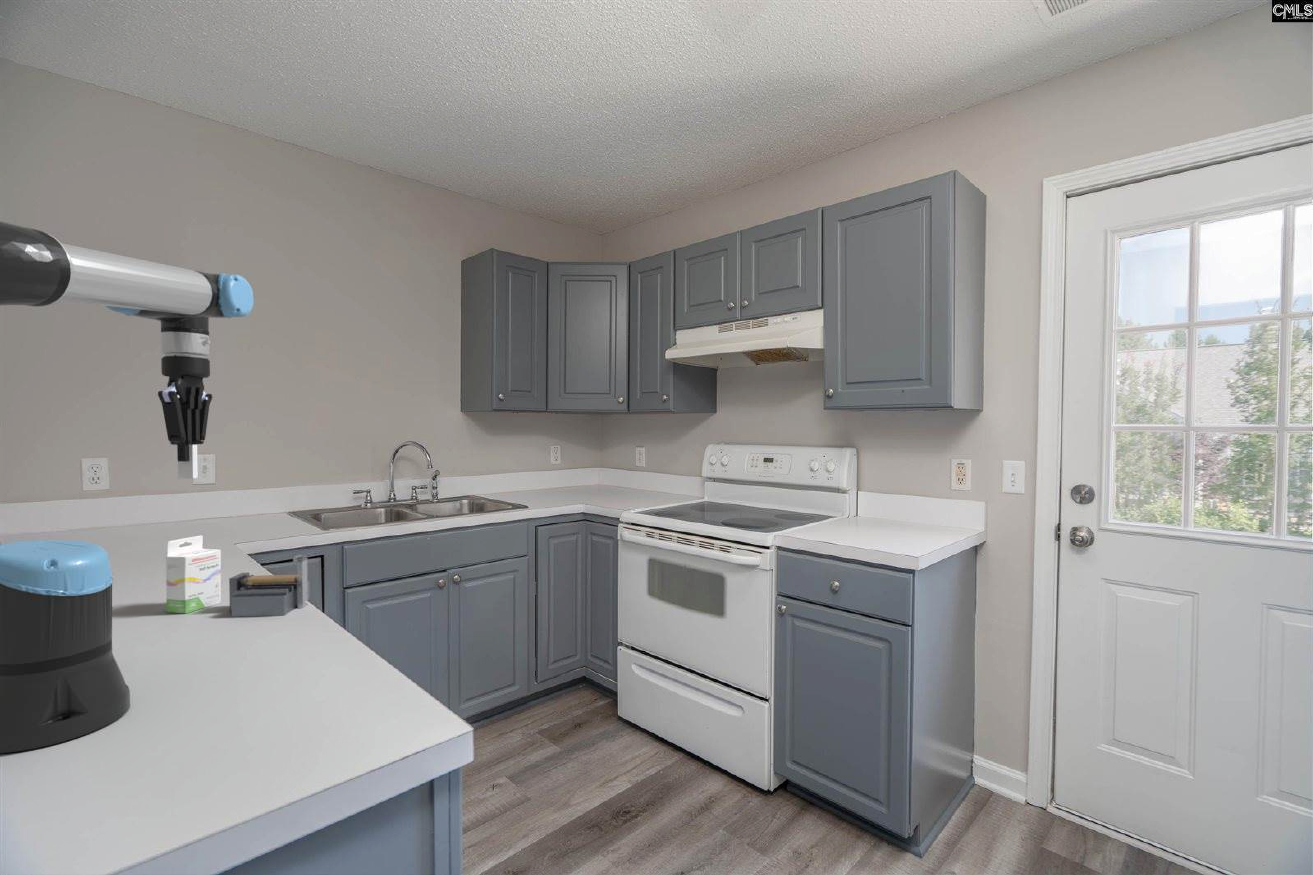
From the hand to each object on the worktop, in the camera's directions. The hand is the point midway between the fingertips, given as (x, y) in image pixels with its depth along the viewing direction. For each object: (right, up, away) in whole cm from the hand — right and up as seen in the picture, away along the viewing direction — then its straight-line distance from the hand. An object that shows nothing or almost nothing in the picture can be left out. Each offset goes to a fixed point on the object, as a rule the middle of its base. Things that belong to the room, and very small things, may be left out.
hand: (187, 478), depth 121 cm
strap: (+9, -23, +11) cm, 27 cm away
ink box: (-7, -28, +11) cm, 31 cm away
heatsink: (+10, -28, +11) cm, 32 cm away
